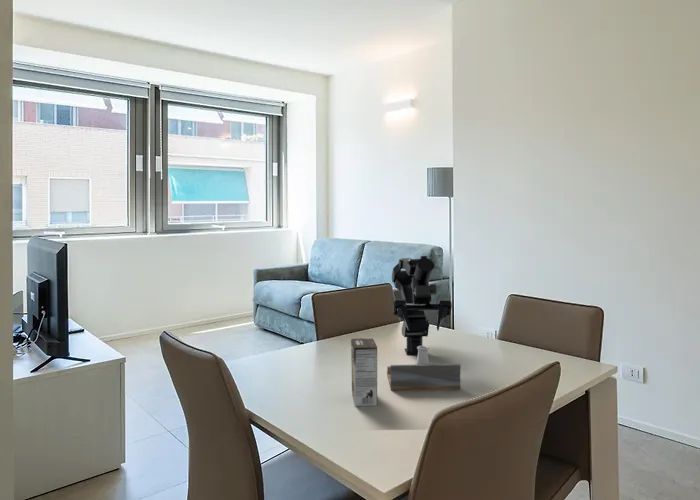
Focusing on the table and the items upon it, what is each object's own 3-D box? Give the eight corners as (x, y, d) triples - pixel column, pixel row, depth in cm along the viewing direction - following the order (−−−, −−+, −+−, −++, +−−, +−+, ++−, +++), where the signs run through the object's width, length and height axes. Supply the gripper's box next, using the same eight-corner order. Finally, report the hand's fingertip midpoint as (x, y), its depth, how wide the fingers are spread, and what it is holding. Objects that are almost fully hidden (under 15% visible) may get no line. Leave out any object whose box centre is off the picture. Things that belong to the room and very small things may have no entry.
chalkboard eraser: (386, 374, 164) (386, 352, 164) (450, 373, 165) (450, 351, 164) (390, 390, 151) (390, 366, 150) (460, 389, 151) (460, 365, 150)
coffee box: (350, 394, 148) (350, 338, 146) (373, 393, 148) (373, 337, 147) (353, 406, 139) (353, 347, 137) (377, 405, 139) (377, 346, 138)
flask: (423, 385, 151) (424, 351, 150) (405, 379, 156) (405, 346, 155) (439, 380, 155) (440, 347, 155) (421, 374, 161) (421, 342, 160)
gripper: (393, 275, 170) (394, 315, 161) (451, 275, 169) (455, 316, 159) (392, 294, 179) (393, 334, 169) (447, 295, 178) (452, 335, 168)
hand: (423, 329), depth 166 cm, fingers open, 9 cm apart
